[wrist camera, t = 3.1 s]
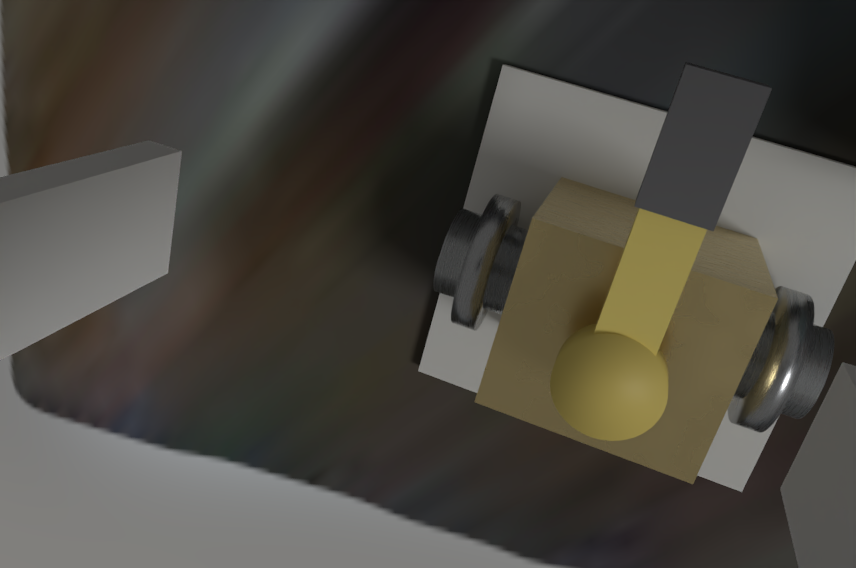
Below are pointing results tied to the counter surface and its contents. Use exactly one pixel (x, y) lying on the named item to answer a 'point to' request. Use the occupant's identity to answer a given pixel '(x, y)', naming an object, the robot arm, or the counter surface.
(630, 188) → the mat
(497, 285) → the valve
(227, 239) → the counter surface
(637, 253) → the lever
